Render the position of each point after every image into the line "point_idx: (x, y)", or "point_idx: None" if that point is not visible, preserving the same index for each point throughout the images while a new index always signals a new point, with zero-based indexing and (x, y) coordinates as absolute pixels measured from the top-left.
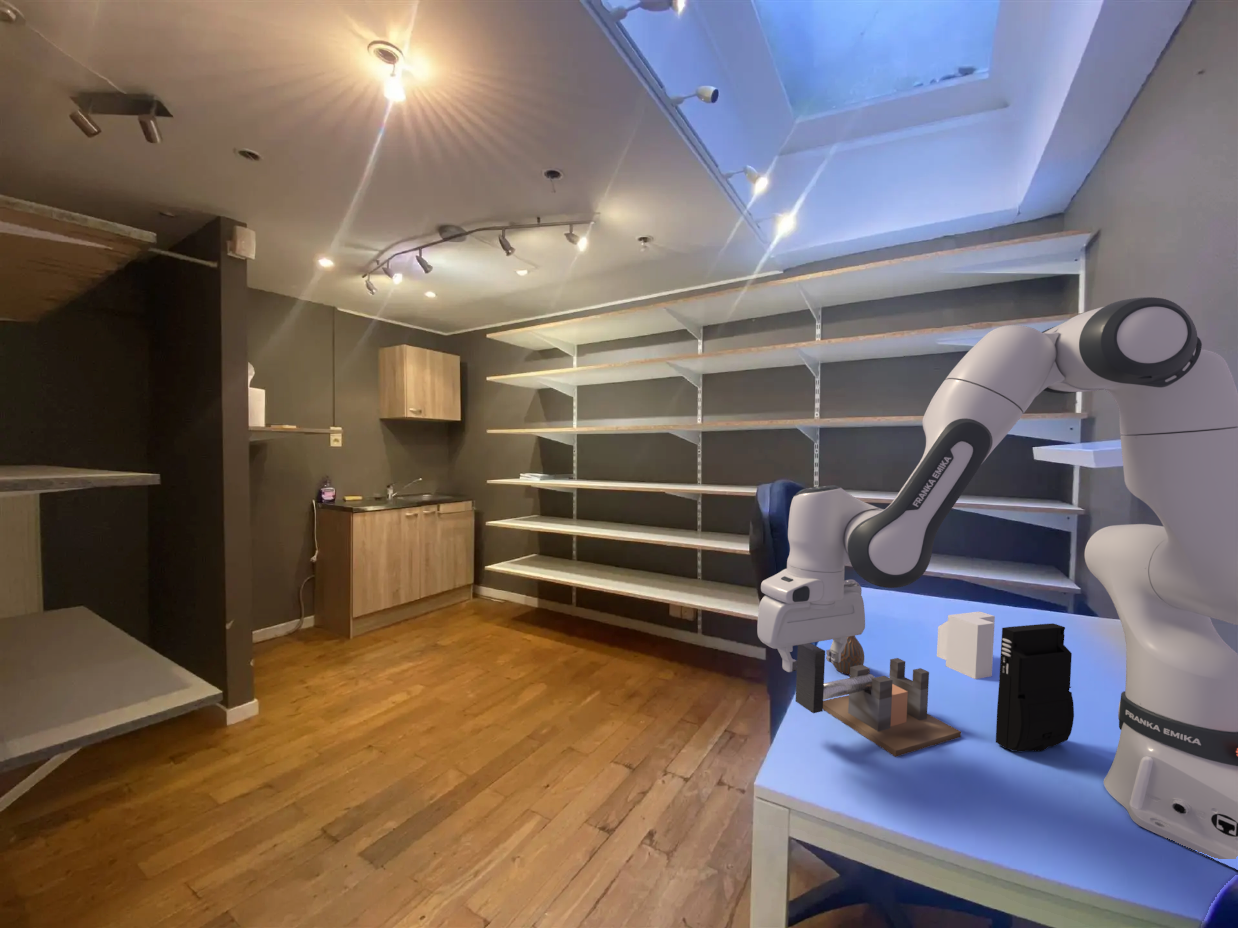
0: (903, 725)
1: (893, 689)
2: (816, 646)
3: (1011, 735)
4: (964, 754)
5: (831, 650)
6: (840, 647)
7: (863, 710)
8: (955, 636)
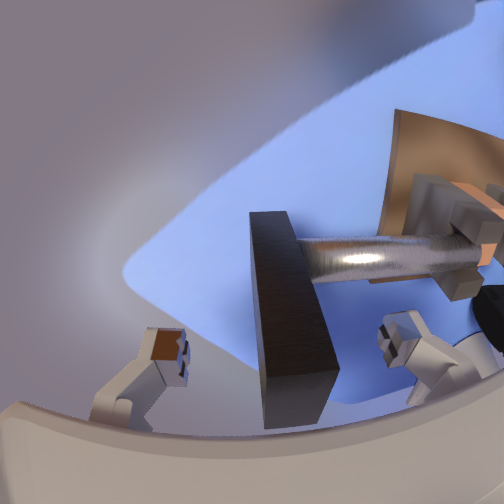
0: None
1: (483, 252)
2: (323, 404)
3: (480, 312)
4: (439, 291)
5: (414, 344)
6: (422, 378)
7: (419, 219)
8: None
